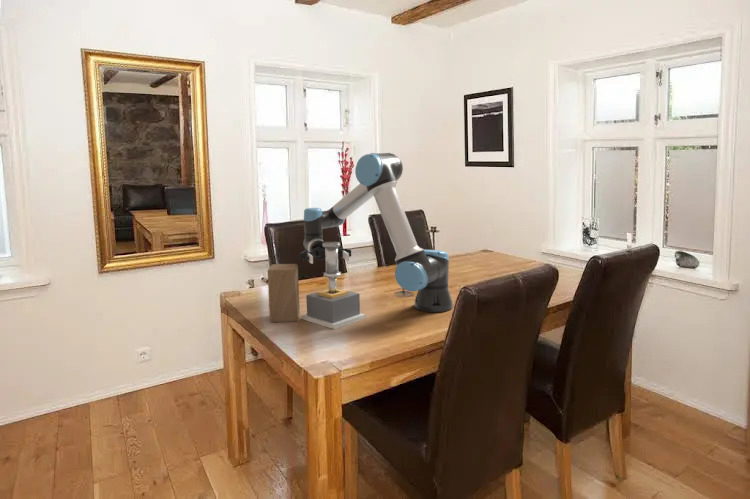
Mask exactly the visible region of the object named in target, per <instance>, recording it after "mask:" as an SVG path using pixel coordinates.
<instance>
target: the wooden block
mask: <svg viewBox="0 0 750 499" xmlns="http://www.w3.org/2000/svg"><path fill="white" fill-rule="evenodd" d="M267 287H268V302H269V321H270V323H283V322H284V323H289V322H294V323H295V322H297V321H298V320H299V316H300V314H301V310H300V309H301V308H300V288H299V265H298V264H297V263H279V264H278V263H277V264H276V263H275V264H274V263H273V264H271V265H270V266H269V267H268V269H267Z"/></svg>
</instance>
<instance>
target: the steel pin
mask: <svg viewBox="0 0 750 499" xmlns="http://www.w3.org/2000/svg"><path fill="white" fill-rule="evenodd" d="M323 247H324V248H325V257H326V258H325V272H323V278H328V279H327V280H328V289H329V293H331V294H334V293H337V289H338V288H337V287H338V286H337V279H338V278H339V277H341V276H342V271H339V256H338V247H339V248H341V242H339V241H324V243H323Z"/></svg>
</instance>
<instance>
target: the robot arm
mask: <svg viewBox="0 0 750 499" xmlns="http://www.w3.org/2000/svg"><path fill="white" fill-rule="evenodd" d="M403 166H404V165H403V162H402V160H401V159H400V158H399V157H398V156H397V155H395V154H394V153H390V152H385V153H381V152H380V153H377V152H371V153H367V154H364V155H362V156H360V158H359V159H358V160H357V163H356V166H355V169H354V170H355V171H354V172H355V178H356V179H357V181H358V182H359V184H357V185H356V186H355V187H354V188H353V189H352V190H351V191H350V192H348V193H347V194H346V195H345V196H344V197H342V198H341V199H339V201H338V202H336V203H335V204H334V205H333V206H332V207H330V208H329V209H327V210H323V211H322V208H320V207H307V208H305V209H304V211H303V224H304V240H303V247H304V250H303V251H300V253H298V256H299V257H298V259H299V261H303V260H304V263H308V262H309V264H314V259H315V260H320V261H321V260H325V259H326V257H325V248H324V247H323V243H324V242H325V241H324V240H323V236H324V235H323V230H324V229H329V228H335V227H338V226H342V225H343V224H345V221H346V219H347V218H348V217H349V216H351V215H352V214H353V213H354V212H355V211H357V210H358V209H359V208H361V206H363V205H364V204H366V203H367V202H368V201H369V200H371V199H372V198H373V197H374V199H375V202H376V205H377V207H378V211H379V212H380V216H381V218H382V220H383V224H384V226H385V228H386V230H387V232H388V236H389V238H390V241H391V243H392V245H393V248H394V252H395V253H396V256H395V259H394V261H395V262H394V263H395V264H396V265H395V266H396V268H395V272H394V278H395V280H396V284H398V285H399V287H400V288H402V289H403V290H406V291H407V292H417V293H416V296H415V299H414V308H415V309H416V310H419V311H422V312H426V313H427V312H428V313H443V312H447V311H450V310H451V309H452V308H454V306H453V305H454V304H453V299H452V297H451V292H450V290H449V269H450V268H449V264H450V258H449V253H448V252H447V251H444V250H438V249H424V248H422V247H420V246H419V245H418V242H417V239H416V237H415V235H414V233H413V232H414V231H413V230H412V227H411V225H410V221H409V219H408V217H407V214H406V212H405V210H404V207H403V204H402V201H401V199H400V196H399V194H398V192H397V189H396V186H397V183H398V180H399V179H400V178H401V177H402V175H403V170H404V167H403ZM338 257H339V258H340V257H341V258H342V259H344V260H345V261H346V262H349V261H350V258H351V257H352V249H349V248H342V247H338Z"/></svg>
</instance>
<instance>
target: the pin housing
mask: <svg viewBox="0 0 750 499" xmlns="http://www.w3.org/2000/svg"><path fill="white" fill-rule="evenodd" d="M305 297H306V313H305V314H302V315H301V320H303V321H307V322H310V323H313V324H317V325H320V326H324V327H326V328H330V329H332V330H336V329H340V328H343V327H346V326H348V325H351V324H354V323H356V322H359V321H362V320H365V319H366V318H367V317H366V316H367V315H366V314H365V313H361V304H360V302H361V300H360V297H361V296H360V292H354V291H350V290H345V289H342V288H337V293H334V294H331V293H329V288H327V289H324V290H320V291H316V292H313V293H309V294H306V296H305Z"/></svg>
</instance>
